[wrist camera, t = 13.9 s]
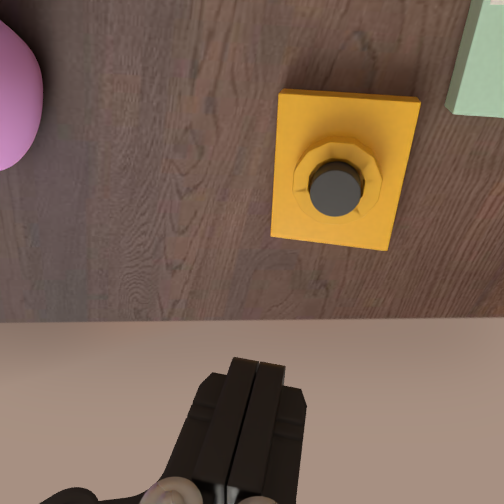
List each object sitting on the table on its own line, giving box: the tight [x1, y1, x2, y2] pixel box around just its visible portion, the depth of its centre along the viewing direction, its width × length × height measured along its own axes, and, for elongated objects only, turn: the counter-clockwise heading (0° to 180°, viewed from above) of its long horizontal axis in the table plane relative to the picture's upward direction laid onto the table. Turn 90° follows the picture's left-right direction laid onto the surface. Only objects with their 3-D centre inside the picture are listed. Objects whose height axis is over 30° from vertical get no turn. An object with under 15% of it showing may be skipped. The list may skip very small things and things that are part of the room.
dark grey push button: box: [310, 161, 361, 217], centre depth 30 cm, size 4×4×2 cm
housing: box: [271, 89, 421, 251], centre depth 32 cm, size 12×10×4 cm
